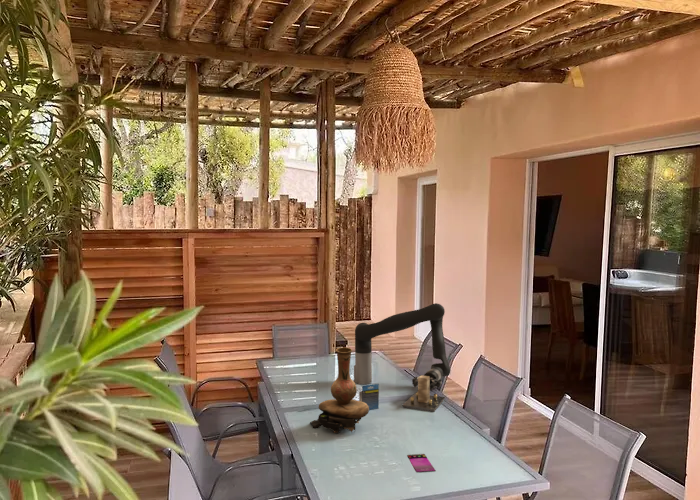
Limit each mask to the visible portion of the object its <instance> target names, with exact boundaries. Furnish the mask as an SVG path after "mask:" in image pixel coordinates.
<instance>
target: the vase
mask: <svg viewBox="0 0 700 500" xmlns="http://www.w3.org/2000/svg"><path fill="white" fill-rule="evenodd" d="M335 351H336V357H337V372H338V373H337V378H336V379H335V380H334V382H332V385H331V386H330V392H331V395H332V397H333V399H328V400H327V399H326V400H324V401H322V402H320V403H319V404H318V410H319V411H321V412H320V414H319V415H318V416H317V417H318V419H315V420H312V421H310V422H309V424H311V425H312V429H315V430H316V429H318V428H319V429H320V427H322V428H325V429H329V430H332V431H333V434H334V433H335V434H340V433H341V431H343V430H348V431H350V432H351V433H356V424H359V422H360V421H361V420H362V418H364V417H366V416H367V415H368V414H369V411H370V410H369V407H368V405H367V404H366V403H364V402H361V401H359V400H356V399H354V398H355V397H356V395H357V392H358V388H357V385H356V383H355V382H354V379H352V378H351V373H350V368H351V358H352V356H351V355H352V351H353V349H352V348H350V347H338V348H336V349H335ZM340 427H342V428H343V429H342V430H341V428H340ZM353 431H354V432H353Z"/></svg>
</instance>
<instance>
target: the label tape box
mask: <svg viewBox="0 0 700 500" xmlns="http://www.w3.org/2000/svg"><path fill="white" fill-rule="evenodd" d="M379 385H380V384H379V383H375V384H372V383H371V384H361V391H359V393H358V395H359V396H358V398H359V399H358V401H361V402H364V403H366V404H367V405H368V407H369V411H370V410H376V409H379V408H380V407H379V406H380V405H379V400H380V399H379V397H380V392H379V391H380V389H379V387H380V386H379ZM370 387H371V388H370Z"/></svg>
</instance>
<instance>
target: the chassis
mask: <svg viewBox="0 0 700 500" xmlns="http://www.w3.org/2000/svg"><path fill="white" fill-rule="evenodd" d="M444 399H445V400H446V397H445V396H438V394H437V393H434V394H433V395H430V399H429V401H428V402H427V403H424V402H418V391H417V392H416V393H414V394H412V396H410V397H409V398H408V399H407V400H406V401H404V402H403V403H402V405H401V408H403V409H411V410H417V411H426V412H433V413H434V412H436V411H437V409H438V408H439V407H440V406H441V405H442V404H443V403H444V401H445V400H444ZM443 400H444V401H443ZM442 402H443V403H442ZM441 403H442V404H441Z"/></svg>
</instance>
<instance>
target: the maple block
mask: <svg viewBox="0 0 700 500" xmlns="http://www.w3.org/2000/svg"><path fill="white" fill-rule="evenodd" d="M417 377H418V385H417V392H418V402H424V403H427V402H428V401H429V399H430V394H431V391H430V390H431V389H430V376H424V375H420V376H417Z"/></svg>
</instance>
